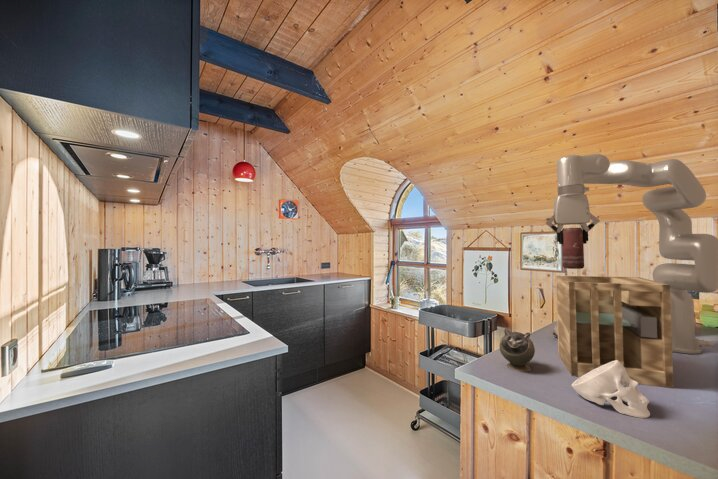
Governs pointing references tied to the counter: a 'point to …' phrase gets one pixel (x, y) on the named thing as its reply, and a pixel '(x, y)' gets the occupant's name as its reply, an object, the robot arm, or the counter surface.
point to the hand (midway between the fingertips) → (572, 243)
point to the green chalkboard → (626, 321)
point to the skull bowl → (613, 389)
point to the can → (573, 248)
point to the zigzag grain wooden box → (614, 327)
